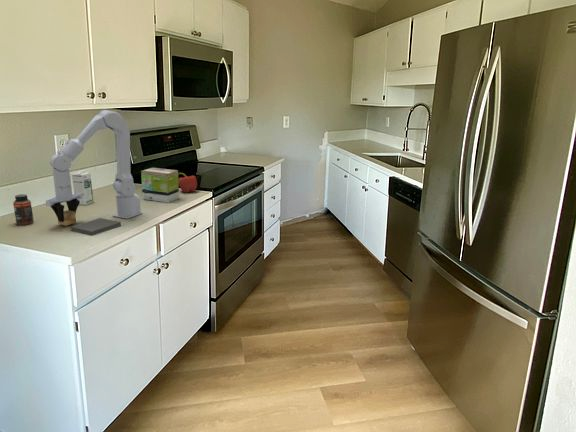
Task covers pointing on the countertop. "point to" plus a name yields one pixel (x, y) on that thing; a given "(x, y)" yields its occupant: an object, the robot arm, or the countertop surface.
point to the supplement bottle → (23, 210)
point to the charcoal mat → (95, 226)
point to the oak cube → (68, 218)
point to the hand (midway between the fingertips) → (66, 219)
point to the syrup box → (83, 187)
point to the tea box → (160, 184)
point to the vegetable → (187, 183)
